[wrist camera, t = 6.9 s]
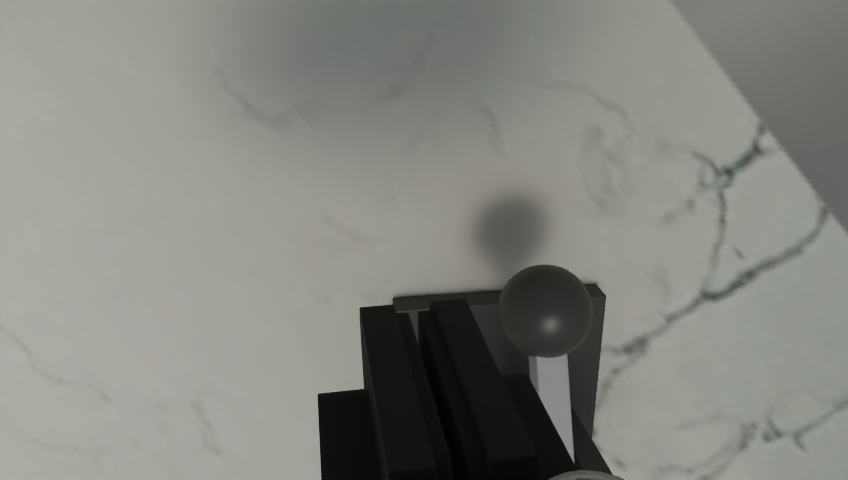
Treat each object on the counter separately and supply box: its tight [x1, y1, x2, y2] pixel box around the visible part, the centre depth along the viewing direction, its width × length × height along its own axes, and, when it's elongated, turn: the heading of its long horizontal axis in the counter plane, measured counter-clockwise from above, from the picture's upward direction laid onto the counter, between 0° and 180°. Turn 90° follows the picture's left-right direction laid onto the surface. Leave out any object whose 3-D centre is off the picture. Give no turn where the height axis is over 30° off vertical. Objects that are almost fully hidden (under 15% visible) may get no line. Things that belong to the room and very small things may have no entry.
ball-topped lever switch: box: [498, 265, 593, 464], centre depth 25 cm, size 12×3×3 cm, turn 2°
